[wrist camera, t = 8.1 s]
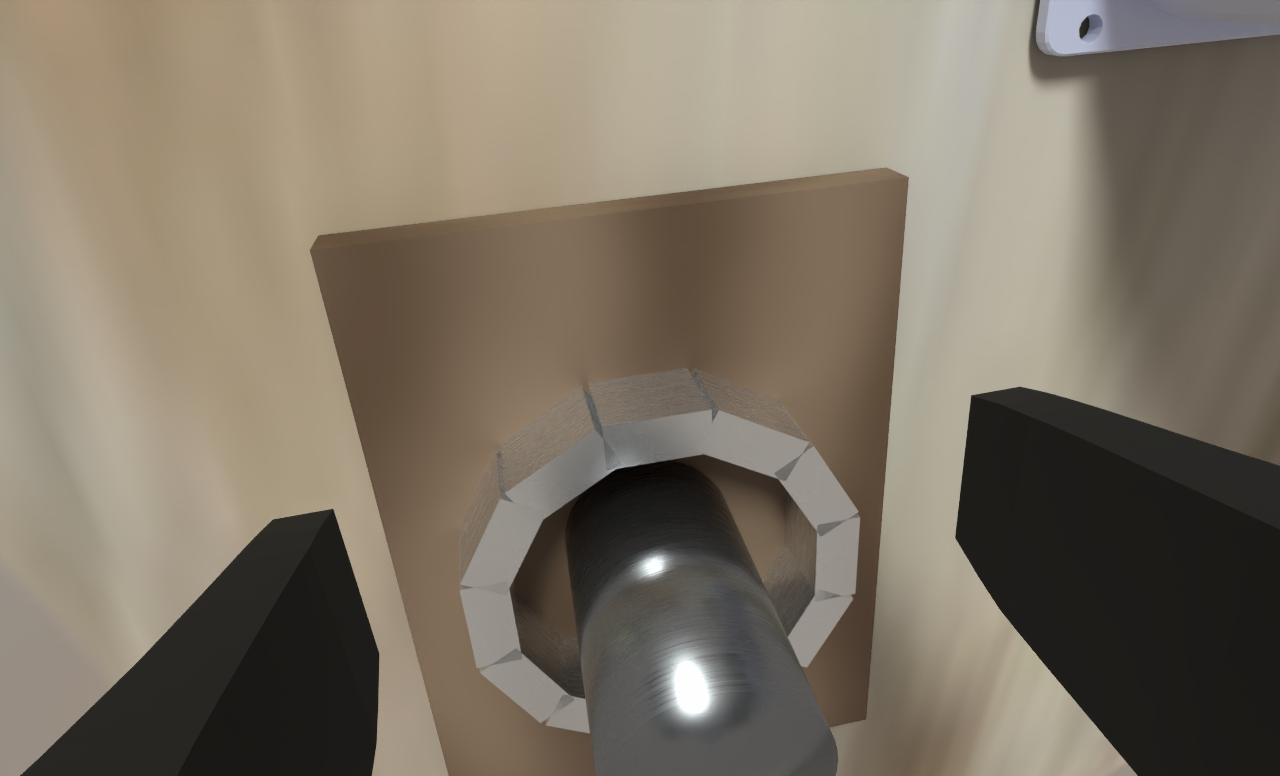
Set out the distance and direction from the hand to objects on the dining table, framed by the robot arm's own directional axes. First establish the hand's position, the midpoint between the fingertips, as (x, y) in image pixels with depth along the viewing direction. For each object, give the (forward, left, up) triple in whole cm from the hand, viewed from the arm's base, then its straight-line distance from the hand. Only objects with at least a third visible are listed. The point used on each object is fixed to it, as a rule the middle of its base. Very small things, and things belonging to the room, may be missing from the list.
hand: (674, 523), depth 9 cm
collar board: (-1, +7, -9) cm, 11 cm away
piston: (-1, +6, -8) cm, 11 cm away
